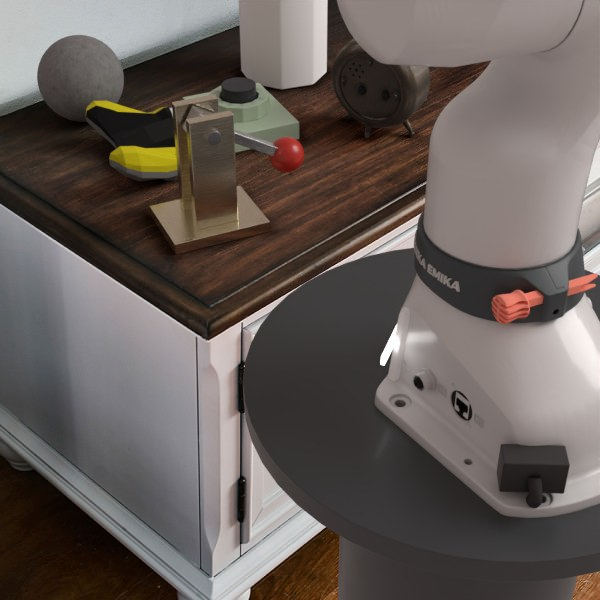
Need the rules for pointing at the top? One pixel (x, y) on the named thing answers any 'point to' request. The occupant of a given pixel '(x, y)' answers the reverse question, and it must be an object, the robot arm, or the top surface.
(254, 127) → the button box
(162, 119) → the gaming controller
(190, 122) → the switch bracket
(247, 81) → the button
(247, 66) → the cup
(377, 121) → the alarm clock
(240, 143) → the switch lever
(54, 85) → the decorative ball
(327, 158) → the top surface
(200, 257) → the top surface
